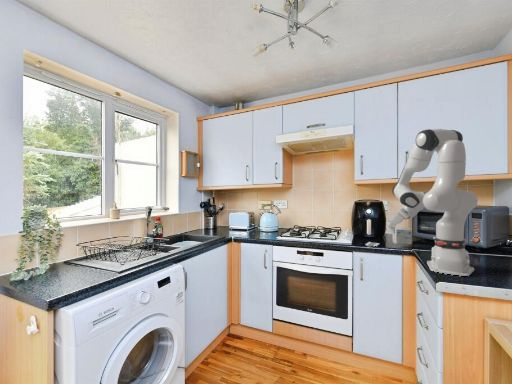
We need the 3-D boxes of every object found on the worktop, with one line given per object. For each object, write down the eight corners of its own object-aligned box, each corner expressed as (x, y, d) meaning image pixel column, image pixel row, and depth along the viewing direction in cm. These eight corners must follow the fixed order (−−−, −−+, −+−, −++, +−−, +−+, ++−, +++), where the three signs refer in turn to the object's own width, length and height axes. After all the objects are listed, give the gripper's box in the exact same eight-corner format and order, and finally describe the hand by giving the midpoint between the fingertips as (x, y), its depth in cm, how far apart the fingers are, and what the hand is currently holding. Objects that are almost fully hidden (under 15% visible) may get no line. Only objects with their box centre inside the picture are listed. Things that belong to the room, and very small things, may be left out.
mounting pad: (376, 246, 168) (376, 245, 168) (365, 245, 172) (365, 244, 172) (379, 244, 174) (379, 243, 174) (369, 242, 179) (368, 242, 179)
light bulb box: (407, 242, 179) (407, 227, 179) (412, 244, 173) (412, 229, 172) (392, 242, 180) (392, 227, 180) (396, 244, 174) (396, 229, 173)
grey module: (393, 234, 162) (393, 221, 162) (387, 233, 165) (386, 221, 165) (395, 233, 166) (395, 221, 166) (388, 232, 168) (388, 220, 168)
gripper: (405, 208, 169) (389, 221, 175) (399, 210, 153) (382, 224, 159) (413, 215, 166) (396, 228, 172) (407, 217, 150) (390, 232, 157)
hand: (389, 226), depth 166 cm, fingers closed on grey module, 4 cm apart
